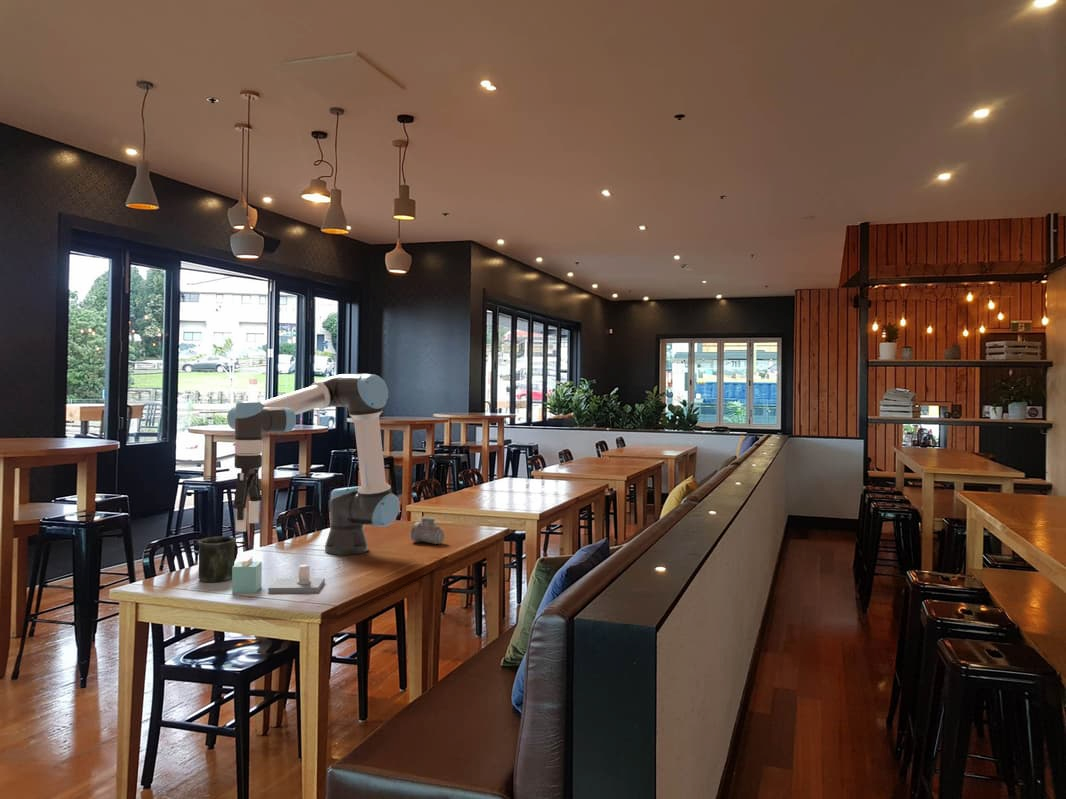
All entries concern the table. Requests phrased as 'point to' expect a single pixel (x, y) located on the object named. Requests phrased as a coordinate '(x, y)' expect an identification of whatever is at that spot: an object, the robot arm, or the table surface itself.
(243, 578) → the teal cube with ledge
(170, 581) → the table surface
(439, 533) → the pipe fitting
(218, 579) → the mug
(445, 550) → the table surface
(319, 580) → the post board
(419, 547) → the table surface
